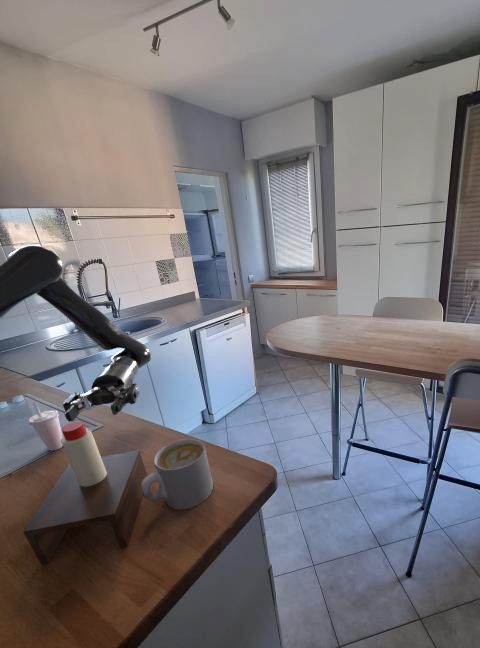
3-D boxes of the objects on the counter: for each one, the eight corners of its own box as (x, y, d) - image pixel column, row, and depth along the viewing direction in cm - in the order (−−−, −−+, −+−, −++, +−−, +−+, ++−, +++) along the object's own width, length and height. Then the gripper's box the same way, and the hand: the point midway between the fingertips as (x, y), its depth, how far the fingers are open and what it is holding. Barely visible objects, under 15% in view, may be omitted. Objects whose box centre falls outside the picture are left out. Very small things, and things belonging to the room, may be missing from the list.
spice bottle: (75, 489, 63) (51, 435, 58) (84, 472, 67) (63, 421, 62) (102, 484, 63) (81, 431, 59) (110, 467, 68) (91, 417, 63)
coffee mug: (206, 469, 77) (197, 433, 73) (219, 495, 69) (210, 456, 65) (144, 493, 72) (132, 455, 68) (151, 525, 64) (137, 485, 60)
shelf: (41, 565, 57) (22, 531, 54) (82, 491, 74) (69, 462, 70) (127, 546, 60) (114, 513, 56) (148, 478, 76) (139, 450, 73)
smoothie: (36, 451, 89) (15, 405, 83) (60, 437, 94) (41, 394, 89) (52, 455, 86) (31, 409, 81) (75, 441, 92) (57, 396, 86)
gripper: (79, 372, 80) (46, 403, 66) (141, 363, 83) (123, 392, 68) (88, 399, 83) (60, 435, 69) (148, 390, 86) (133, 423, 71)
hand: (91, 414), depth 68 cm, fingers open, 8 cm apart
